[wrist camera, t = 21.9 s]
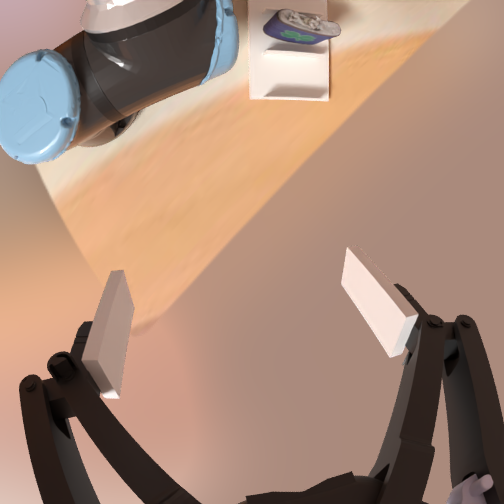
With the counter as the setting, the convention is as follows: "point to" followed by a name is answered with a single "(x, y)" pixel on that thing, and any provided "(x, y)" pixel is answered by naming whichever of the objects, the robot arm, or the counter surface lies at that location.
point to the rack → (286, 55)
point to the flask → (300, 28)
